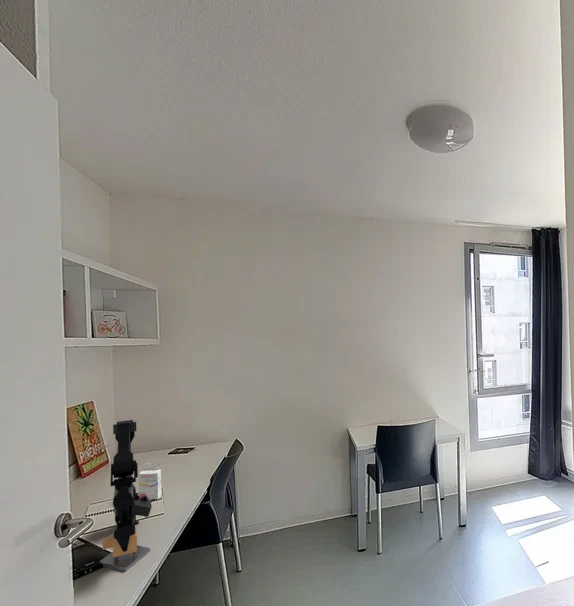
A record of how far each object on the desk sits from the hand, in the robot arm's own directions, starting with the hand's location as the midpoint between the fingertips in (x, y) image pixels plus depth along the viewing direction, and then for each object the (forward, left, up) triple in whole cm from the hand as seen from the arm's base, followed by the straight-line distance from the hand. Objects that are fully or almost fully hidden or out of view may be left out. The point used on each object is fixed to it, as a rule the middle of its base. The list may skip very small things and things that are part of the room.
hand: (125, 545), depth 125 cm
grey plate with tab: (0, 0, -4) cm, 4 cm away
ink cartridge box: (-38, -23, -4) cm, 45 cm away
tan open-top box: (+1, -1, -1) cm, 2 cm away
